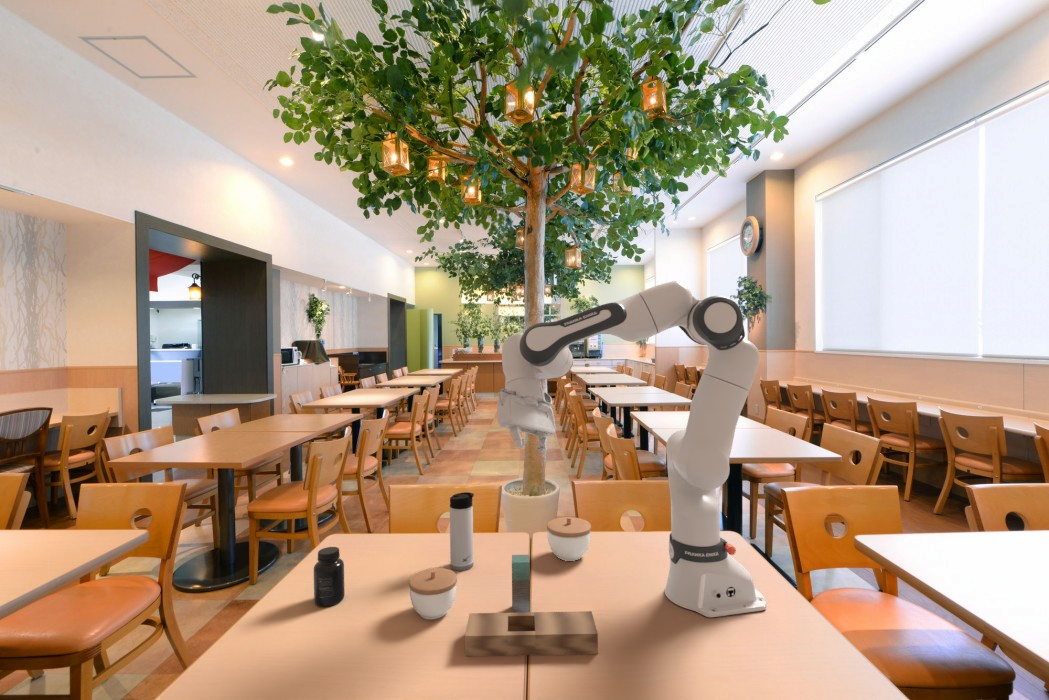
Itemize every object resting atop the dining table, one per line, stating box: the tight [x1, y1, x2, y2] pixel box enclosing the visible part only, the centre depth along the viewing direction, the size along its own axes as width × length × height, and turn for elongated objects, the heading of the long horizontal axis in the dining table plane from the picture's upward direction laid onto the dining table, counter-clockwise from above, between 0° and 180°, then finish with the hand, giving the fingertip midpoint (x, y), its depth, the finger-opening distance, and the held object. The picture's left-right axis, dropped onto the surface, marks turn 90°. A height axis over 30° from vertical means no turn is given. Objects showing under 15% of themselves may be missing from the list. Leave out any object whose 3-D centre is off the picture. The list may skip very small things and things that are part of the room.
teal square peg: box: [511, 554, 531, 613], centre depth 112 cm, size 4×4×12 cm
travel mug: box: [449, 491, 475, 572], centre depth 134 cm, size 6×7×20 cm
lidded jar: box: [408, 567, 458, 621], centre depth 111 cm, size 11×11×9 cm
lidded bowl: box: [546, 516, 592, 562], centre depth 140 cm, size 13×13×11 cm
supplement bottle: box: [313, 546, 346, 608], centre depth 117 cm, size 7×7×12 cm
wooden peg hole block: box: [464, 610, 599, 657], centre depth 100 cm, size 26×8×4 cm, turn 91°
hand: (531, 449), depth 117 cm, fingers open, 8 cm apart
